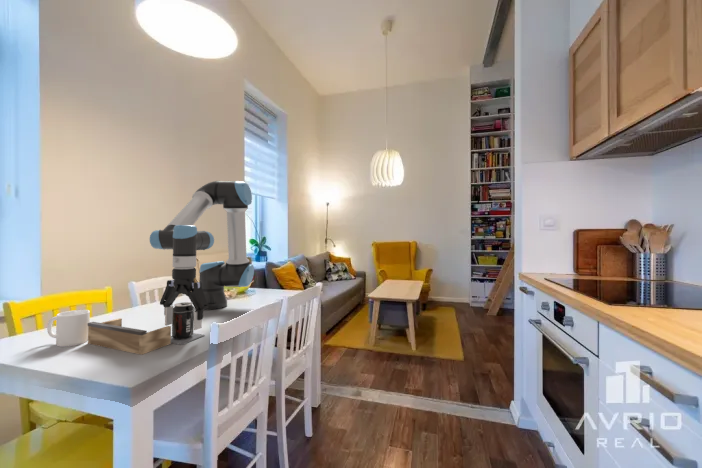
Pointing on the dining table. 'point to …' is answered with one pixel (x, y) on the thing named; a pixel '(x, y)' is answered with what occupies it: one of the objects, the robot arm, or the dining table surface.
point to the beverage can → (182, 320)
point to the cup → (70, 327)
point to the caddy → (127, 337)
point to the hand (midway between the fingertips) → (183, 326)
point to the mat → (183, 341)
